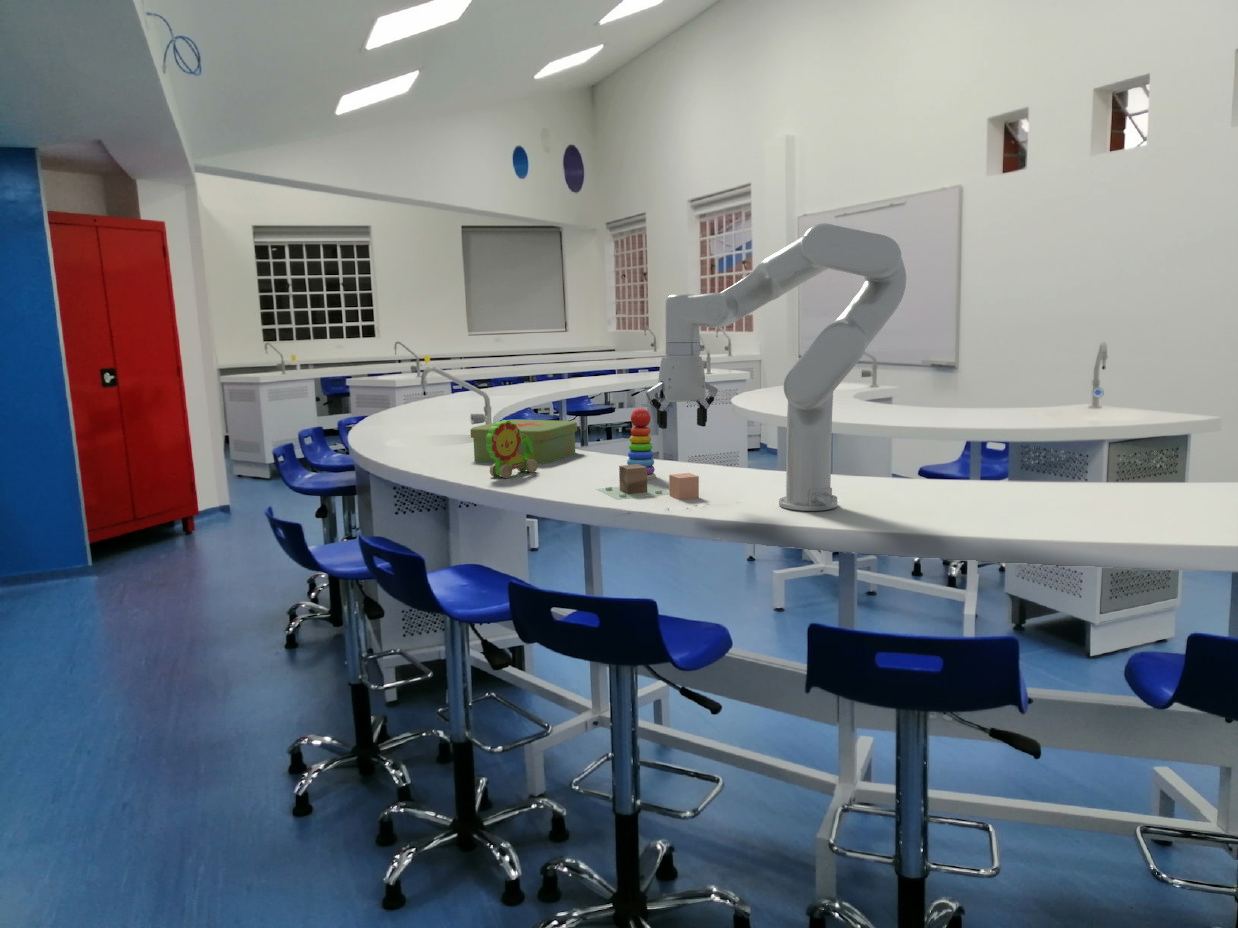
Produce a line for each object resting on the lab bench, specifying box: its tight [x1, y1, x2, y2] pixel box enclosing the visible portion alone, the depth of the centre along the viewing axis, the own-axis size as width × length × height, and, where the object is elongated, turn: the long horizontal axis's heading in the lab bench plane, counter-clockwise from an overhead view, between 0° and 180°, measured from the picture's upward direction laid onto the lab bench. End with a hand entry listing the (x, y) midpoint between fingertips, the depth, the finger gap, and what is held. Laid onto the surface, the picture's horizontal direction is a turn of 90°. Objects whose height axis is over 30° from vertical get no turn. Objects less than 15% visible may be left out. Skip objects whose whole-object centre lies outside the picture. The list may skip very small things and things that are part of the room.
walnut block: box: [618, 464, 648, 494], centre depth 208 cm, size 5×5×6 cm
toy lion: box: [486, 419, 539, 479], centre depth 239 cm, size 16×5×15 cm, turn 141°
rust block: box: [668, 472, 700, 501], centre depth 201 cm, size 5×5×6 cm
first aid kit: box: [470, 419, 578, 465], centre depth 273 cm, size 26×26×10 cm
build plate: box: [595, 483, 670, 501], centre depth 209 cm, size 14×14×2 cm
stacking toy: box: [626, 407, 657, 480], centre depth 226 cm, size 8×8×19 cm
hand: (682, 426), depth 199 cm, fingers open, 9 cm apart
